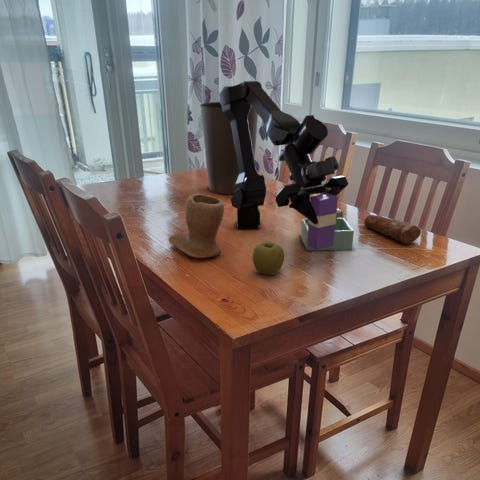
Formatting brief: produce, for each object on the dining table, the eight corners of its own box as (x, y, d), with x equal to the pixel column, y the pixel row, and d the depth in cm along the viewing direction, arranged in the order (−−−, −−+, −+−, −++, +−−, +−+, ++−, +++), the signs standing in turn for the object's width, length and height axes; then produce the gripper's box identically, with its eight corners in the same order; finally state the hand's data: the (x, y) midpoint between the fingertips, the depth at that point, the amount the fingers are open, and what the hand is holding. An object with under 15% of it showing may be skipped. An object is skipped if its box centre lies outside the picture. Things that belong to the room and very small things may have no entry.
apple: (260, 281, 110) (261, 253, 107) (246, 268, 117) (246, 241, 113) (289, 276, 113) (290, 248, 109) (274, 263, 119) (274, 237, 116)
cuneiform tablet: (334, 217, 151) (351, 229, 141) (321, 221, 151) (337, 233, 141) (331, 196, 148) (349, 206, 138) (318, 200, 147) (335, 210, 137)
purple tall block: (306, 245, 118) (310, 196, 111) (323, 241, 120) (328, 193, 114) (316, 250, 115) (320, 200, 109) (333, 245, 117) (338, 196, 111)
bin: (306, 250, 127) (308, 231, 124) (300, 236, 137) (301, 218, 134) (351, 249, 127) (353, 230, 125) (342, 235, 137) (344, 217, 134)
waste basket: (196, 182, 191) (192, 101, 176) (243, 178, 197) (243, 100, 182) (215, 200, 169) (212, 109, 154) (267, 195, 175) (269, 106, 160)
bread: (403, 247, 128) (407, 227, 126) (359, 227, 143) (362, 209, 141) (421, 243, 131) (425, 224, 128) (376, 224, 146) (378, 206, 143)
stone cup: (233, 255, 124) (232, 199, 117) (193, 265, 119) (189, 206, 111) (205, 238, 135) (203, 186, 128) (168, 246, 130) (163, 192, 123)
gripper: (284, 149, 104) (312, 210, 102) (347, 141, 113) (374, 198, 110) (264, 177, 114) (288, 234, 112) (323, 168, 123) (347, 221, 120)
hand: (326, 221), depth 113 cm, fingers closed on purple tall block, 5 cm apart
